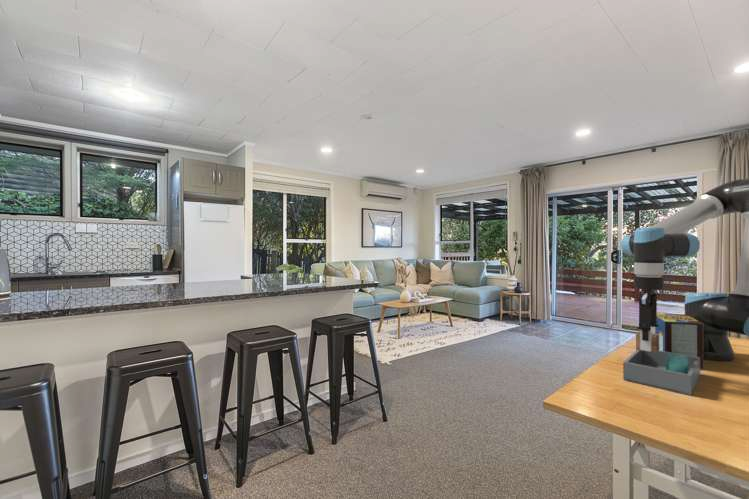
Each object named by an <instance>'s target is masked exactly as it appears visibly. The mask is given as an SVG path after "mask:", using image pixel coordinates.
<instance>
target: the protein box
mask: <svg viewBox="0 0 749 499" xmlns="http://www.w3.org/2000/svg"><path fill="white" fill-rule="evenodd" d="M656 324H658V327H655V334H659V351H665V352H670V353H676V354H682V355H688V356H694V357H699V358H700V370H704V359H703V323H702V322H700V321H698V320H696V319H694V318H692V317H690V316H688V315H685V313H681V314H679V313H666V312H665V313H664V312H663V313H661V312H657V323H656Z"/></svg>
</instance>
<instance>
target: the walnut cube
mask: <svg viewBox="0 0 749 499" xmlns="http://www.w3.org/2000/svg"><path fill="white" fill-rule="evenodd" d="M636 350H640V331H638V332H637V333H636V334H635V351H636ZM658 350H659V334H654V333H652V346H651V352H652V353H656V352H657V351H658ZM640 351H644V350H640ZM646 352H650V351H646Z"/></svg>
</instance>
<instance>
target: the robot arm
mask: <svg viewBox="0 0 749 499" xmlns="http://www.w3.org/2000/svg"><path fill="white" fill-rule="evenodd" d="M733 213H740V216H741V217H742V218H744V219H745V225H744V231H743V238H742V245H741V250H740V258H739V265H738V272H737V279H736V285H735V289H733V290H731V291H729V292H728V293H727V292H692V293H691V292H689V293H687V294H686V295H685V297H684V304H683V305H684V314H685V315H688V316H690V317H692V318H694V319H696V320H698V321H700V322H702V323H703V360H711V361H725V362H726V361H727V362H728V361H733V360H734V359H735V351H734V350H733V346H732V344H731V342H730V339H729V337H728V334H729V332H730V333H735V334H738V335H743V336H747V337H749V178H748V177H747V178H741V179H735V180H730V181H727V182H725V183H723V184H720V185H718V186H717V187H714V188H712V189H710V190H708V191H706V192H704V193H702V194H700V195H699V196H697V197H696V198H695V199H694V201H693V202H692V203H690V204H689V205H687V206H685V207H683V208H681V209H680V210H678V211H677V212H675V213H673V214H671V215H670V216H668V217H666V218H664V219H662V220H660V221H659V222H657V223H655V224H654V225H652V226H650V227H638V228H636V229H635V230H634V234H633V233H632V234H628V235H626V236H624V237H623V238H622V239H621V241H620V249H621V250H622V252H623V254H625V255H629V256H633V262H634V263H633V264H632V265H631V268H632V269H633V274H634V277H633V287H634V288H635V289H641V293H639V296H638V326H637V328H636V329H637V330H640V331H639V332H640V350H644V351H650V352H651V346H652V333H654V334H655V327H658V324H656V323H657V313H658V312H657V311H658V310H657V309H658V306H657V304H658V294H657V293H656V290H663V289H664V278H663V276H664V275H665V262H664V261H665V258H686V257H688V258H689V257H693V256H695V255H696V254H697V253H698V252H699V250H700V248H701V246H700V245H701V244H700V240H699V238H698V237H697V236H696V235H694V234H691V233H687V232H689V231H690V230H692V229H694V228H696V227H697V226H699V225H701V224H704V222H707V221H708V220H710V219H711V220H713V219H717V218H720V217H721V216H723V215H727V214H733Z"/></svg>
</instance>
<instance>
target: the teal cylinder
mask: <svg viewBox="0 0 749 499" xmlns="http://www.w3.org/2000/svg"><path fill="white" fill-rule="evenodd" d="M666 370H669V371H674V372H679V373H684V374H688V357H686V356H684V355H680V354H671V353H669V354H666Z"/></svg>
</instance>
